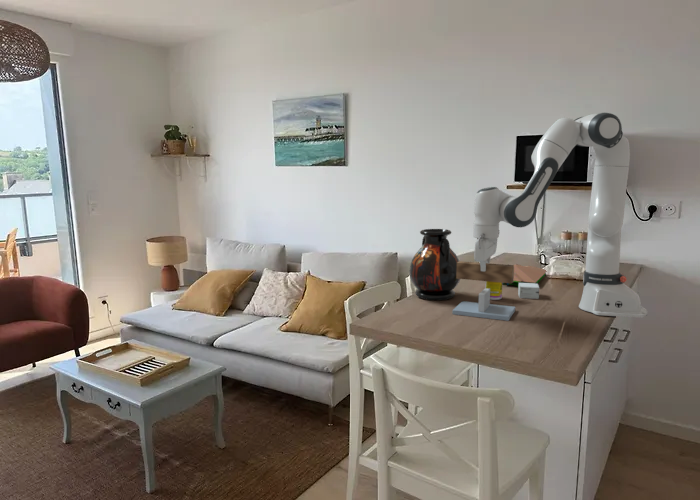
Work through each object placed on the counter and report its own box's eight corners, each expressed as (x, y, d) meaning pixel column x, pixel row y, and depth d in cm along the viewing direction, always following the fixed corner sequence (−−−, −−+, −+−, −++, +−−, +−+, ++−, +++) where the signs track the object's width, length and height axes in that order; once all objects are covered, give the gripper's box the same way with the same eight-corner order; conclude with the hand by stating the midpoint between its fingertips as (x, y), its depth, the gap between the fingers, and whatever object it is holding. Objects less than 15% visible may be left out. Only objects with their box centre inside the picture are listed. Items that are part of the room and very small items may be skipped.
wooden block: (513, 281, 177) (514, 265, 176) (511, 283, 174) (512, 267, 173) (458, 276, 186) (459, 261, 185) (456, 278, 183) (456, 262, 182)
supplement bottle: (502, 300, 198) (503, 269, 196) (485, 300, 199) (486, 269, 197) (501, 296, 204) (501, 266, 202) (484, 296, 205) (485, 266, 203)
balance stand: (515, 310, 183) (515, 289, 182) (508, 320, 171) (509, 298, 170) (462, 304, 193) (462, 285, 191) (452, 314, 180) (452, 293, 179)
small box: (518, 298, 201) (519, 286, 200) (517, 293, 209) (518, 282, 208) (539, 299, 199) (539, 287, 198) (537, 294, 206) (537, 283, 206)
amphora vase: (400, 293, 213) (400, 229, 208) (442, 288, 221) (443, 226, 216) (425, 305, 193) (426, 234, 189) (471, 299, 201) (473, 231, 196)
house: (481, 285, 226) (482, 268, 224) (500, 272, 253) (500, 257, 252) (533, 291, 214) (534, 272, 213) (547, 276, 242) (548, 260, 240)
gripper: (488, 236, 167) (487, 276, 169) (500, 229, 184) (499, 265, 187) (470, 235, 169) (469, 274, 172) (483, 229, 187) (482, 264, 190)
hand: (484, 269), depth 179 cm, fingers closed on wooden block, 3 cm apart
